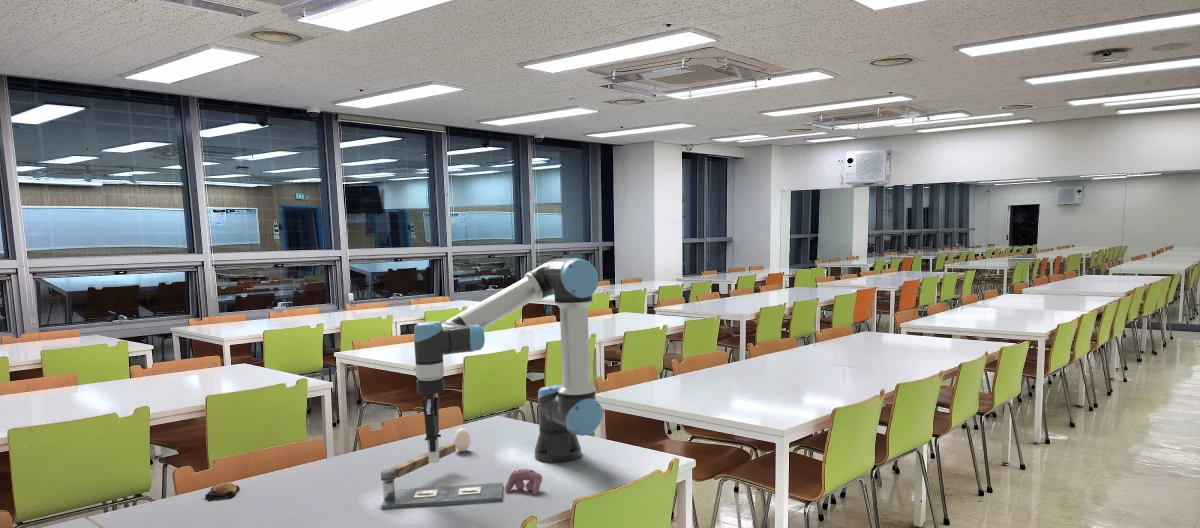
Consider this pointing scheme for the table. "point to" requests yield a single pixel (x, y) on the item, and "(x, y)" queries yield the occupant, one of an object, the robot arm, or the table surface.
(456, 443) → the egg
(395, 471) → the swing bar
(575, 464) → the table surface
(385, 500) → the board
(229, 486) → the toy turtle
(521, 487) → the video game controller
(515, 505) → the table surface
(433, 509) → the table surface
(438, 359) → the robot arm
